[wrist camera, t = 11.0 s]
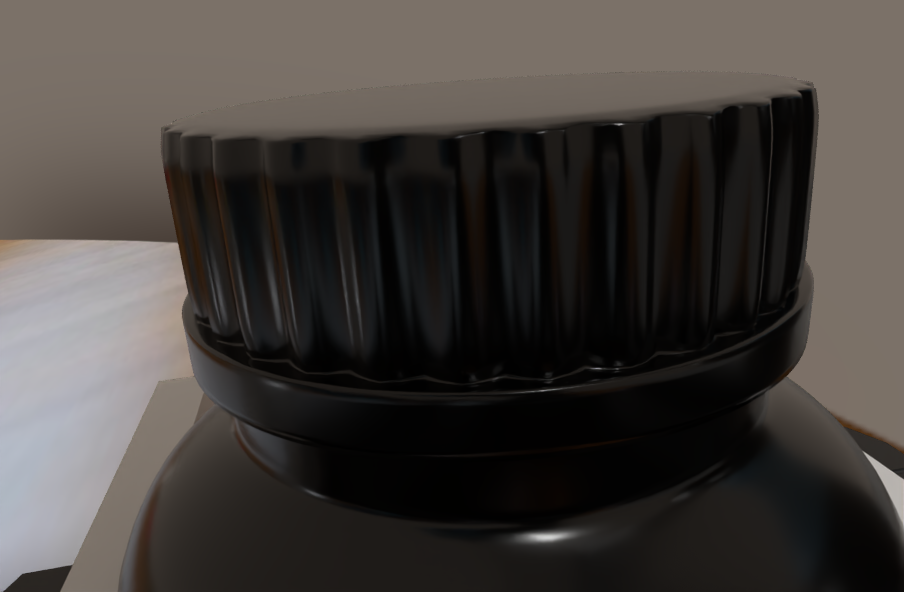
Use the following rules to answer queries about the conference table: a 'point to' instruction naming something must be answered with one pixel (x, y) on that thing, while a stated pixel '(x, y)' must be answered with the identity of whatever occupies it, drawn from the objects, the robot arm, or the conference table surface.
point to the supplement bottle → (507, 346)
